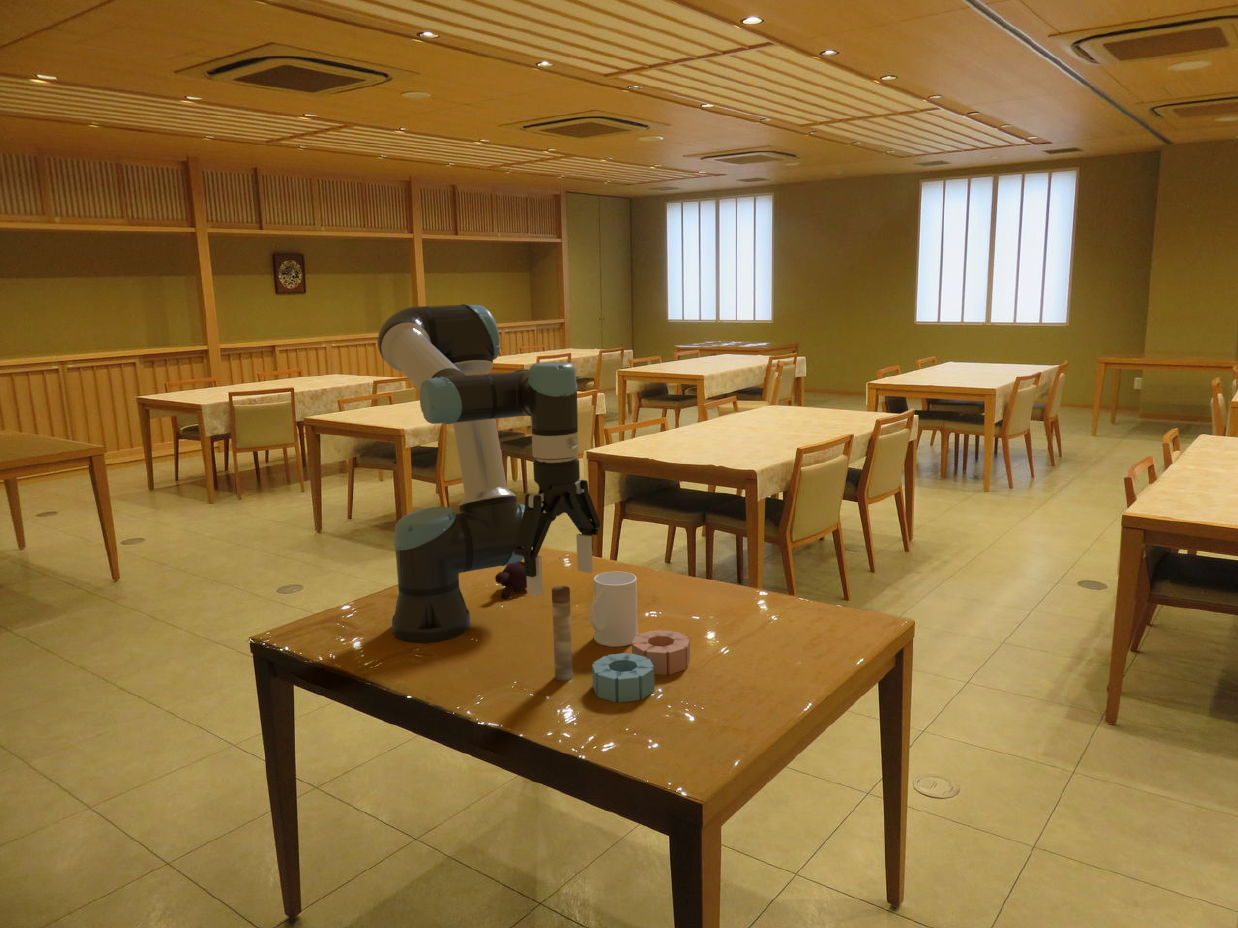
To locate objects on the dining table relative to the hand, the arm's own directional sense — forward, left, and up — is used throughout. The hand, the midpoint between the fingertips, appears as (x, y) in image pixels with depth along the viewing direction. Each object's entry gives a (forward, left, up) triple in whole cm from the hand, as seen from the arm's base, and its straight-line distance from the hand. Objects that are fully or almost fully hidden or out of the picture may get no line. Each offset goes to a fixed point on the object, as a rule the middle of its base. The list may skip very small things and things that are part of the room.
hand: (561, 582), depth 151 cm
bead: (+11, +2, -17) cm, 20 cm away
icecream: (-36, +30, -18) cm, 50 cm away
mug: (-2, +17, -17) cm, 25 cm away
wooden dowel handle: (0, 0, -17) cm, 17 cm away
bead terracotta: (+11, +14, -17) cm, 25 cm away
